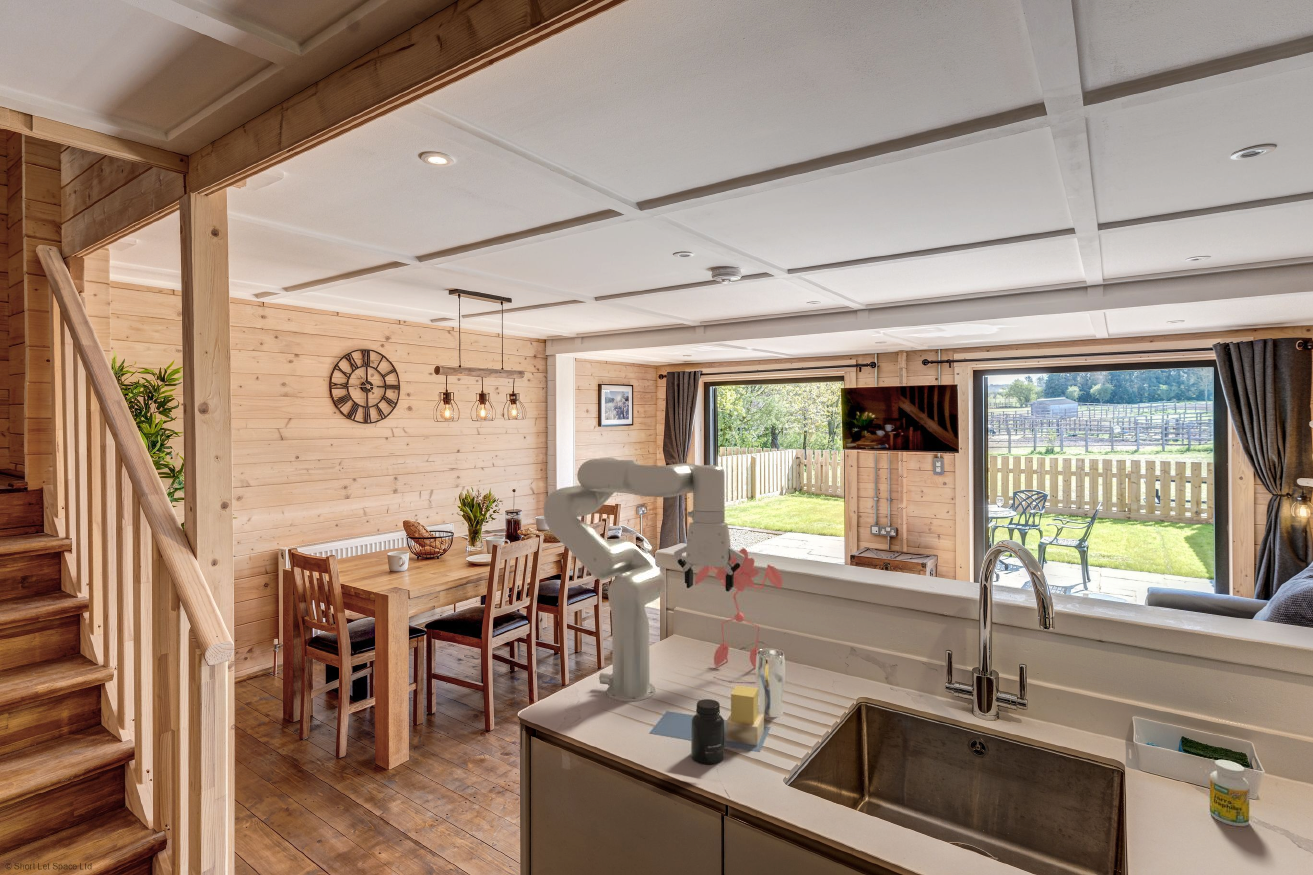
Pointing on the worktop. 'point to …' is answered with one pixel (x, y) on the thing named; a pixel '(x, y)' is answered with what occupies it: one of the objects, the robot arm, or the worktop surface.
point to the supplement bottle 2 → (1229, 793)
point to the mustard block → (744, 704)
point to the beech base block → (745, 731)
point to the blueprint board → (682, 724)
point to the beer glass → (770, 681)
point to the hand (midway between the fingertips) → (709, 588)
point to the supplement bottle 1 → (707, 733)
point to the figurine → (740, 581)
